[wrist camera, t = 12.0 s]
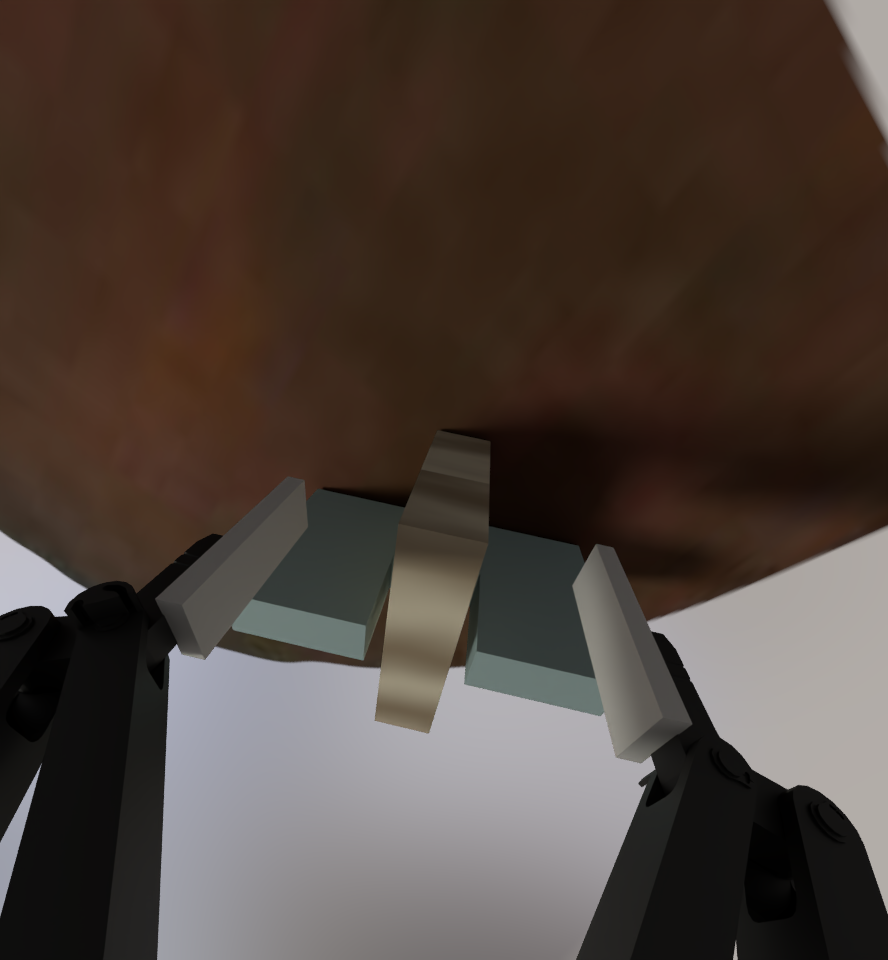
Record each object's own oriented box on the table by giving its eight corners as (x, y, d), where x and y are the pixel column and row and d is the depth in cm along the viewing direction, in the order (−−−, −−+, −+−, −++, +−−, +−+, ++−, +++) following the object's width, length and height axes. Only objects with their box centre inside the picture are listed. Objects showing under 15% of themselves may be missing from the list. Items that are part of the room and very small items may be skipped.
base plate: (319, 519, 26) (232, 629, 17) (318, 488, 25) (223, 592, 16) (564, 574, 25) (600, 716, 17) (578, 545, 24) (626, 686, 15)
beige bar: (437, 430, 21) (398, 523, 12) (490, 441, 21) (488, 543, 12) (409, 594, 29) (374, 720, 20) (448, 603, 29) (428, 733, 20)
